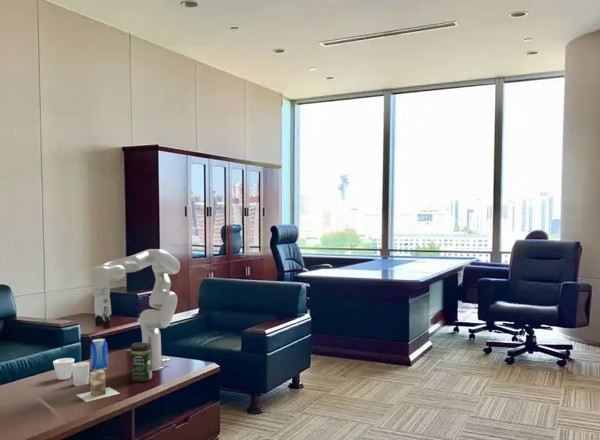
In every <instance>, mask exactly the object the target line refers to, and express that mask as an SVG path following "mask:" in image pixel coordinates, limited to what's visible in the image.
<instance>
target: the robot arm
mask: <svg viewBox="0 0 600 440" xmlns="http://www.w3.org/2000/svg"><path fill="white" fill-rule="evenodd" d="M150 266H151V269H152V271H153V274H154V278H155V282H154V286H153V289H152V292H151V294H150V296H149V300H148V304H149V306H150V307H151V309H149V308H148V309H144V310H143V311H142V312H141V313H140V315H139V325H140V330H141V338H142V339H141V340H142V341H141V342H142V343H150V344H151V353H150V361H151V370H152V372H156V371H159V370H163V369H165V363H170V362H171V359H170V357H169V358H162V341H161V339H162V338H161V336H162V335H161V331H160V329H166V328H167V327H169V326H170V325H171V322H172V319H173V317H174V314H175V312H176V309H177V306H178V295H177V294H176V293H175V292H174V291H171V290H170V289H171V285H172V281H171V278H170V275H175V274H178V273H179V272H180V270H181V263H180V261H179V259H178V258H176V257H174V256H173V255H172V254H170V253H169V252H168V251H166V250H164V249H161V248H155V249H154V248H149V249H145V250H143V251H140V252H138V253H135V254H133V255H130V256H125V257H122V258H118V259H114V260H110V261H108V262H105V263H102V264H101V265H97V266H94V267H93V268H92V293H93V294H92V296H94V299H93V300H94V318H95V327H102V330H107V329H110V328H111V322H110V320H111V318H110V317H111V315H112V305H111V297H110V295H111V290H110V289H111V288H110V281H115V280H116V281H118V280H121V279H123V278H124V277H125V275H126V273H135V272H138V271H140V270H143V269H144V268H147V267H150ZM152 308H153V309H152Z"/></svg>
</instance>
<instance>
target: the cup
mask: <svg viewBox="0 0 600 440" xmlns="http://www.w3.org/2000/svg"><path fill="white" fill-rule="evenodd" d="M74 363H75V358H72V357H64V358H58V359H55V360H53V361H52V364H53V367H54V371H55V375H56V379H57V381H66V380H69V379H71V378H72V374H73V372H72V364H74Z"/></svg>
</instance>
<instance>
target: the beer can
mask: <svg viewBox="0 0 600 440" xmlns="http://www.w3.org/2000/svg"><path fill="white" fill-rule="evenodd" d="M89 347H90V366H91V367H90V368H91V371H92V372H93V371H97V370H103V371H106V370H107V369H108V367H109V361H108V360H109V359H108V343H107V341H106V339H105V338H96V339H93V340H91V344H90V345H89Z"/></svg>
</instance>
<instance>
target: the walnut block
mask: <svg viewBox="0 0 600 440" xmlns="http://www.w3.org/2000/svg"><path fill="white" fill-rule="evenodd" d="M89 385H90V387H89V389H90V392H91V395H93V396H94V397H96V396H100V395H104V394H106V388H107V387H106V382H105V383H103V384H99V385H93V384H91V383H90V382H89Z"/></svg>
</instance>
